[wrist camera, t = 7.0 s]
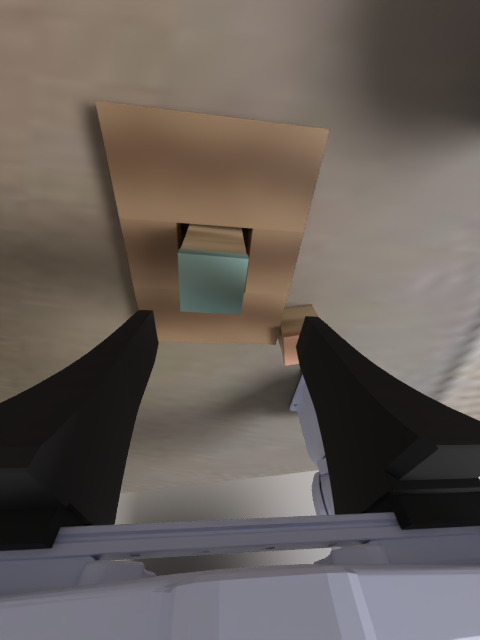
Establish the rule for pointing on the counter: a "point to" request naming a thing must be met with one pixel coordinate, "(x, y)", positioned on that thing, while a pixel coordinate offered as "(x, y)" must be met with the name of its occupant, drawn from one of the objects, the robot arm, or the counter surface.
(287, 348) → the tan cubic piece
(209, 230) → the square peg
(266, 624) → the robot arm
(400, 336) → the counter surface
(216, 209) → the hole board
